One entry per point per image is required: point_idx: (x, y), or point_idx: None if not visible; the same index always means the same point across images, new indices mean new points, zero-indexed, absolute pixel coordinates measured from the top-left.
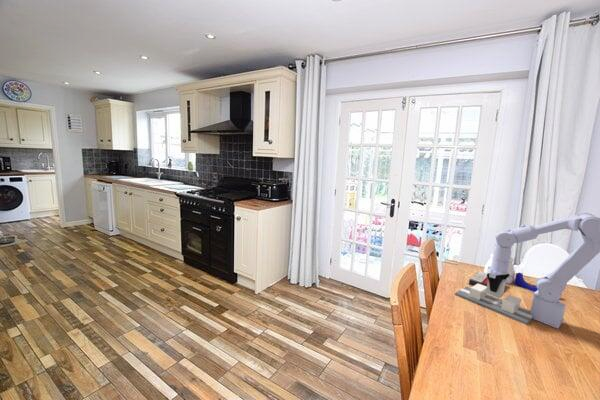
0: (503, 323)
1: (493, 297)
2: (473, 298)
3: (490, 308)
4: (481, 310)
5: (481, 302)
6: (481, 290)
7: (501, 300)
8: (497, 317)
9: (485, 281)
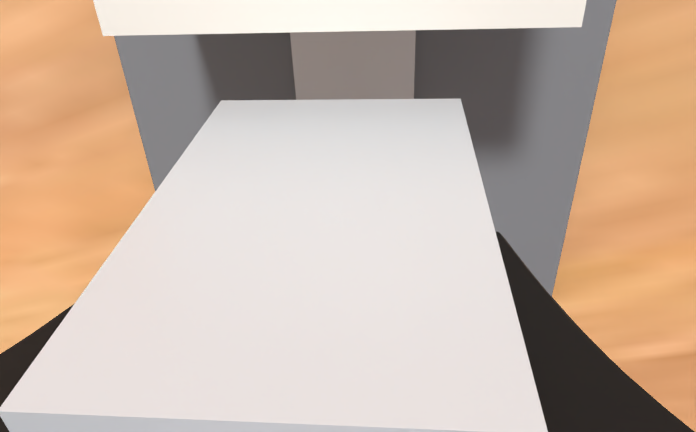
0: (30, 311)
1: (559, 82)
2: None
3: (157, 165)
4: (20, 100)
5: (161, 39)
6: (183, 20)
7: (539, 188)
8: (76, 253)
9: None
